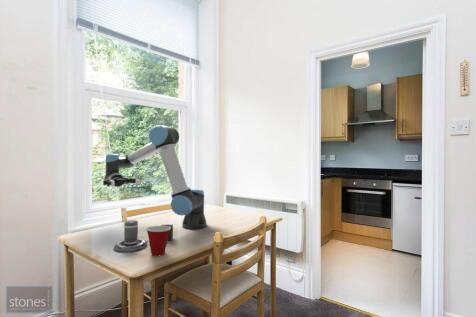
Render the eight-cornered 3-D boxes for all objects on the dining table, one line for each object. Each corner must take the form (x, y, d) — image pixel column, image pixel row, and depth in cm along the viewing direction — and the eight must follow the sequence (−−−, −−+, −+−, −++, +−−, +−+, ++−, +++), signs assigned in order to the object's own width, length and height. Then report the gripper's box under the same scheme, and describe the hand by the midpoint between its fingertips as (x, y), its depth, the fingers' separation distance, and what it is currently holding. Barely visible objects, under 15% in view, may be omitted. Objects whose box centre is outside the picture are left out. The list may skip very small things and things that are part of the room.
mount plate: (151, 241, 133) (151, 237, 133) (140, 252, 118) (140, 248, 118) (122, 241, 133) (122, 237, 133) (107, 252, 118) (107, 247, 118)
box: (161, 238, 139) (161, 224, 139) (173, 237, 139) (173, 224, 139) (159, 241, 133) (159, 227, 133) (171, 241, 133) (171, 227, 133)
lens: (139, 242, 129) (139, 220, 128) (134, 246, 122) (135, 223, 122) (127, 242, 128) (127, 220, 128) (121, 246, 122) (121, 223, 122)
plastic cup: (175, 250, 120) (175, 225, 120) (161, 259, 110) (161, 231, 110) (155, 247, 124) (156, 223, 124) (140, 256, 114) (140, 229, 114)
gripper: (137, 184, 163) (150, 187, 146) (93, 187, 147) (101, 191, 131) (137, 172, 163) (150, 174, 146) (93, 174, 147) (101, 177, 130)
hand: (127, 182), depth 138 cm, fingers open, 13 cm apart
